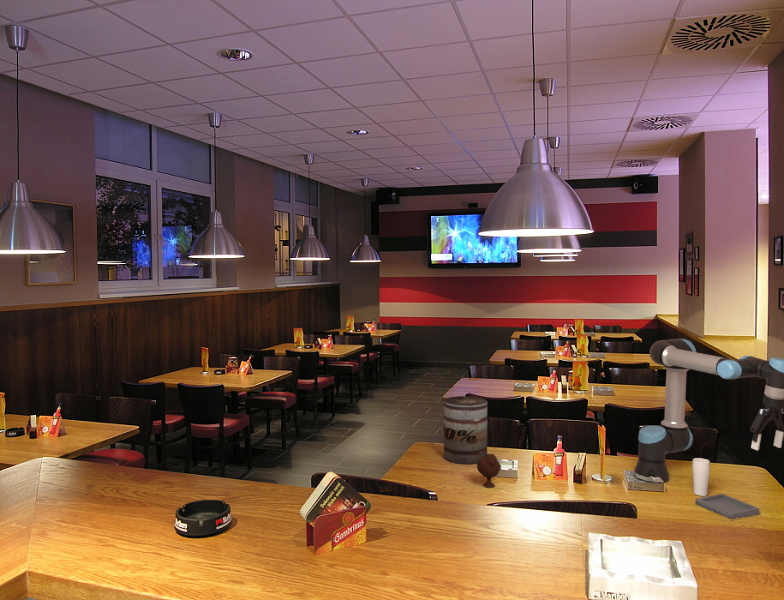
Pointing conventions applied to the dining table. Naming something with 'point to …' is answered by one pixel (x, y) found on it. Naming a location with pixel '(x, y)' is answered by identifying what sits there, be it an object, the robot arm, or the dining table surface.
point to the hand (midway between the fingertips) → (766, 447)
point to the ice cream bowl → (488, 468)
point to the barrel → (465, 429)
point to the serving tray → (727, 506)
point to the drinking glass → (700, 476)
